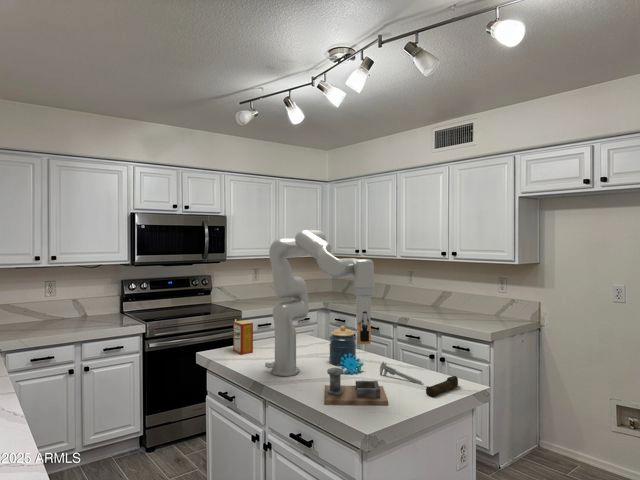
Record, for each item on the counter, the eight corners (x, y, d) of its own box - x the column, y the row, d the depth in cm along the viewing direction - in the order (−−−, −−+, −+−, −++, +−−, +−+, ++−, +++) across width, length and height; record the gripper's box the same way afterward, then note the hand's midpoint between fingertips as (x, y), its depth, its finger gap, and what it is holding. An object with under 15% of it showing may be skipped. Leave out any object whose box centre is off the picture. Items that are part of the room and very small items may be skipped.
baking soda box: (233, 350, 233) (233, 320, 233) (244, 349, 237) (244, 319, 237) (241, 354, 226) (241, 323, 225) (252, 352, 230) (252, 322, 229)
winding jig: (324, 404, 159) (324, 376, 159) (324, 389, 175) (325, 364, 175) (388, 405, 159) (388, 377, 159) (382, 389, 175) (382, 364, 174)
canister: (323, 361, 214) (323, 325, 213) (342, 356, 222) (342, 322, 222) (342, 367, 204) (342, 329, 204) (361, 362, 212) (361, 326, 212)
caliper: (379, 375, 193) (379, 361, 193) (380, 375, 194) (381, 360, 194) (422, 385, 180) (422, 370, 180) (424, 384, 181) (424, 369, 181)
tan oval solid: (357, 344, 165) (357, 323, 165) (357, 341, 170) (357, 320, 170) (371, 344, 165) (371, 323, 164) (370, 341, 170) (370, 320, 169)
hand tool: (433, 398, 166) (433, 386, 166) (425, 395, 169) (425, 383, 169) (463, 388, 177) (463, 376, 177) (455, 385, 180) (455, 374, 180)
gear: (341, 372, 192) (339, 351, 199) (338, 378, 196) (336, 358, 203) (365, 374, 194) (363, 353, 201) (361, 380, 198) (359, 360, 205)
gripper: (352, 289, 176) (353, 334, 176) (355, 294, 159) (355, 345, 159) (371, 289, 175) (371, 334, 175) (376, 294, 158) (376, 345, 158)
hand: (364, 339), depth 167 cm, fingers closed on tan oval solid, 4 cm apart
